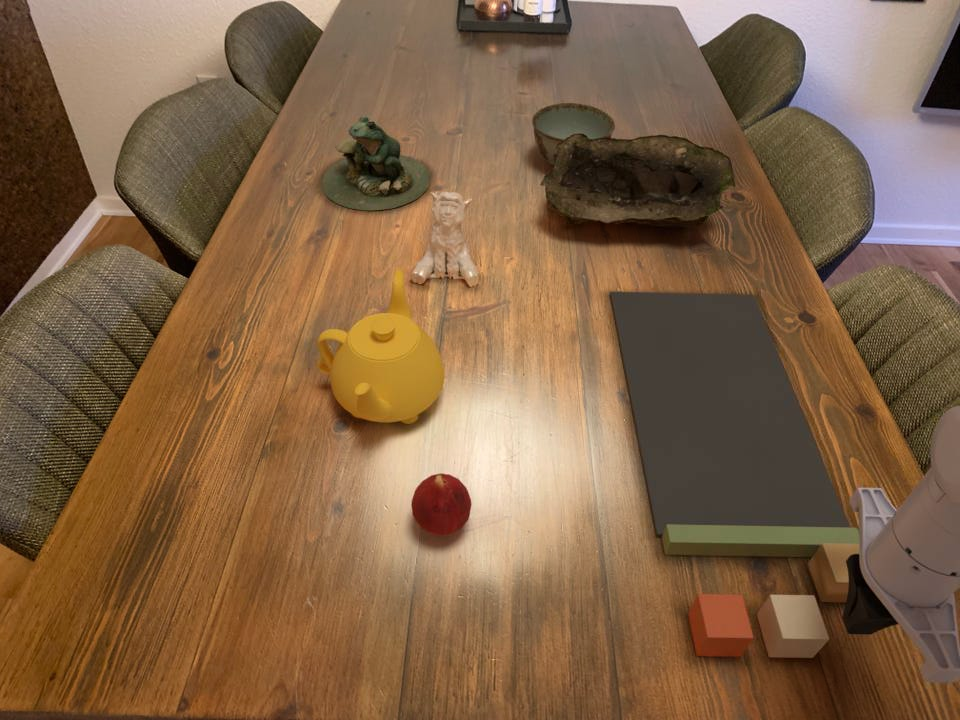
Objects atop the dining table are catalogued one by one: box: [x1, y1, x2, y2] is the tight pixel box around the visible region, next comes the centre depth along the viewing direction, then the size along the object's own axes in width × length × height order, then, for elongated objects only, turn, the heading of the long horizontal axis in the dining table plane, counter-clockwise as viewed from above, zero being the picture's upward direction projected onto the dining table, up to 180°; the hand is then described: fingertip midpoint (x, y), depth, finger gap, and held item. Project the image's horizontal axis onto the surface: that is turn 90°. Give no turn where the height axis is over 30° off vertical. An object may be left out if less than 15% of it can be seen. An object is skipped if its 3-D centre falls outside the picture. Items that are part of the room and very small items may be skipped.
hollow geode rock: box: [539, 133, 736, 229], centre depth 108 cm, size 28×13×15 cm
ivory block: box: [756, 594, 830, 659], centre depth 63 cm, size 4×4×4 cm
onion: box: [410, 473, 472, 537], centre depth 69 cm, size 6×6×8 cm
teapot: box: [316, 268, 445, 425], centre depth 80 cm, size 20×15×12 cm
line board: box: [609, 291, 859, 558], centre depth 84 cm, size 40×20×2 cm, turn 0°
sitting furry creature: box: [410, 191, 480, 288], centre depth 98 cm, size 10×9×12 cm
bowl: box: [531, 102, 616, 168], centre depth 120 cm, size 14×13×8 cm
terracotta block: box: [687, 593, 755, 658], centre depth 63 cm, size 4×4×4 cm
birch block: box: [807, 543, 859, 604], centre depth 67 cm, size 4×4×4 cm
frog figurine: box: [320, 115, 431, 211], centre depth 114 cm, size 18×18×12 cm
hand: (856, 626), depth 58 cm, fingers closed
